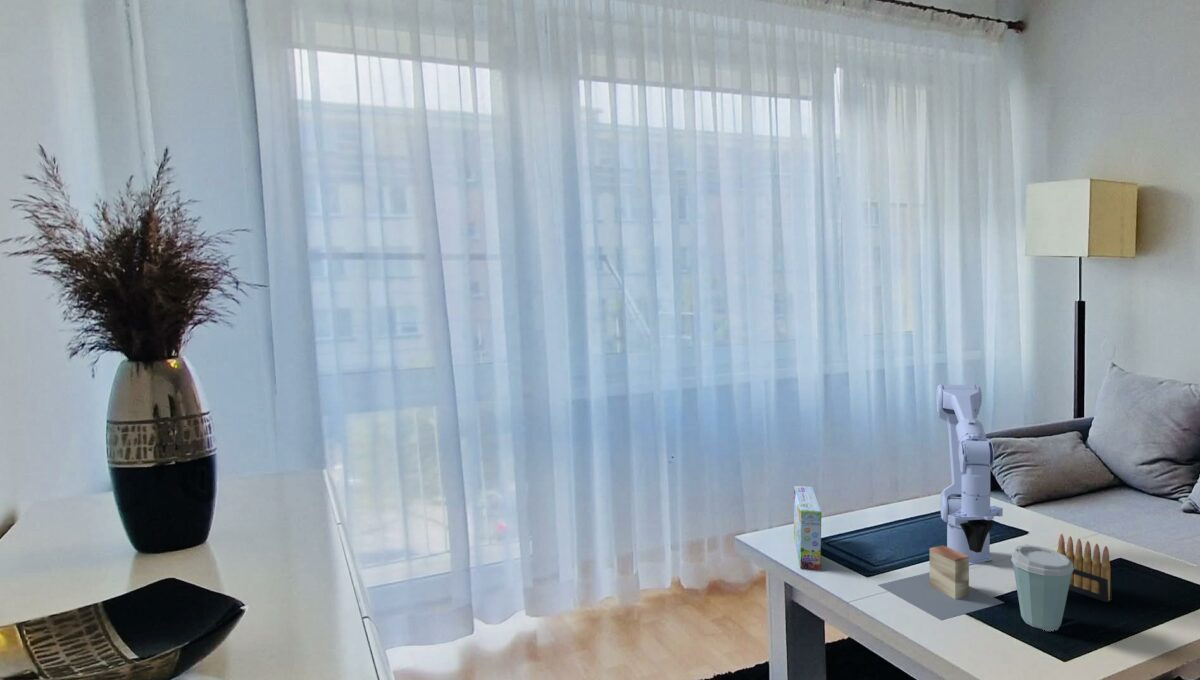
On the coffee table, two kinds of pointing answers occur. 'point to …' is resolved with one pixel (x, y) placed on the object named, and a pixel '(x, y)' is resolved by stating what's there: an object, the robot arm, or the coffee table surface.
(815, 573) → the coffee table surface
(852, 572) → the coffee table surface
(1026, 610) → the disposable coffee cup
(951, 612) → the rubber mat
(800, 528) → the snack box
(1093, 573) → the ammunition clip
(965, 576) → the beech block
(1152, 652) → the coffee table surface
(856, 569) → the coffee table surface
